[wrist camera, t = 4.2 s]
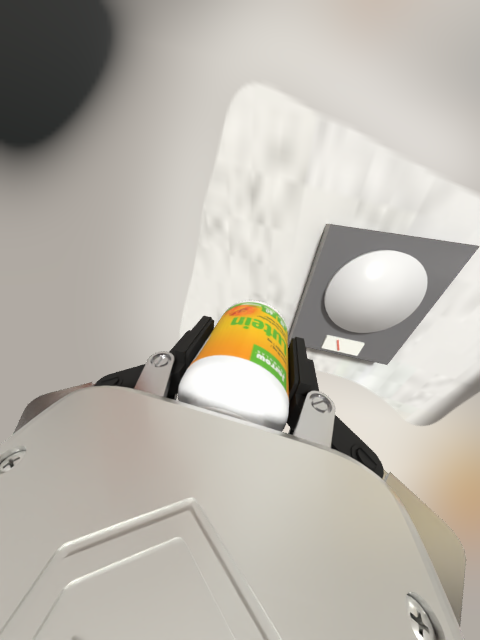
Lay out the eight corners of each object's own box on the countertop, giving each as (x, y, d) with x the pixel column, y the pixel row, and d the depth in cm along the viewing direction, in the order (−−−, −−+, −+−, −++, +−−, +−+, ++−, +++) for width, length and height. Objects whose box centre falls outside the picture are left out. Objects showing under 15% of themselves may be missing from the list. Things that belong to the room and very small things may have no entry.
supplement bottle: (300, 315, 13) (330, 491, 4) (270, 364, 16) (254, 526, 7) (231, 287, 13) (136, 409, 5) (214, 340, 16) (136, 475, 7)
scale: (461, 243, 19) (488, 247, 16) (380, 355, 27) (390, 368, 25) (326, 223, 20) (332, 224, 18) (288, 335, 28) (289, 346, 26)
